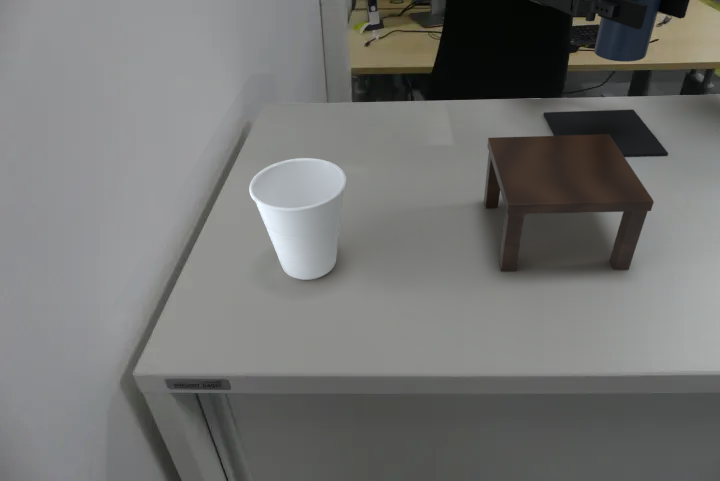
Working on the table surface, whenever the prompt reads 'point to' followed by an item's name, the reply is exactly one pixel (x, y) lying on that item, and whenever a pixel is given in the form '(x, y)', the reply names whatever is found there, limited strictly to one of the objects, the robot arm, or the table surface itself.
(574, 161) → the small brown wooden table
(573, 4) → the robot arm
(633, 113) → the mat
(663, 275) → the table surface
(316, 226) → the cup
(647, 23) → the blue lidded tin
